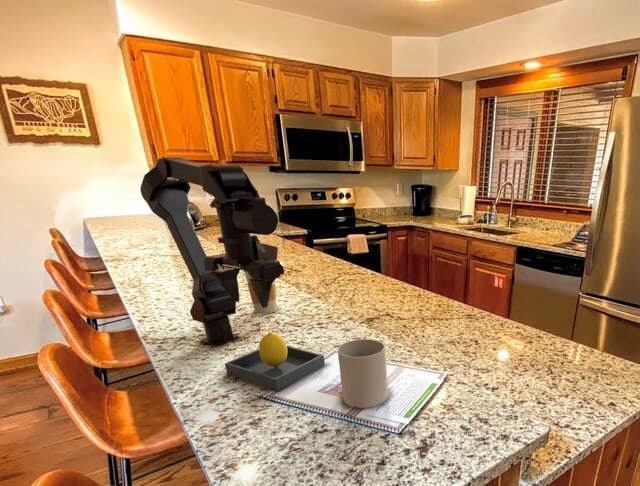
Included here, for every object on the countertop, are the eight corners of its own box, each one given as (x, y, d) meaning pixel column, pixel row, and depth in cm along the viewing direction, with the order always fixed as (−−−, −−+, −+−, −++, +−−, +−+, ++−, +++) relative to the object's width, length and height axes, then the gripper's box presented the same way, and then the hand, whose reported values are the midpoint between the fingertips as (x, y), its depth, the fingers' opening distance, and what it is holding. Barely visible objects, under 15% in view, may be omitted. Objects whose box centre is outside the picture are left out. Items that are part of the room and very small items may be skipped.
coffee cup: (286, 309, 130) (278, 259, 123) (263, 316, 123) (253, 265, 117) (269, 305, 134) (260, 256, 127) (245, 312, 127) (235, 262, 121)
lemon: (281, 374, 88) (275, 338, 85) (257, 371, 89) (250, 336, 86) (294, 363, 93) (289, 328, 90) (271, 361, 94) (265, 327, 91)
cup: (367, 412, 75) (363, 361, 71) (333, 400, 79) (327, 351, 75) (396, 392, 82) (394, 344, 78) (363, 382, 86) (359, 336, 82)
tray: (227, 374, 90) (224, 363, 89) (276, 352, 100) (274, 342, 99) (277, 391, 83) (275, 379, 82) (325, 365, 93) (323, 355, 92)
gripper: (298, 229, 90) (308, 300, 96) (239, 224, 98) (252, 290, 105) (254, 236, 81) (268, 314, 87) (194, 230, 89) (211, 302, 96)
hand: (250, 304), depth 94 cm, fingers open, 9 cm apart
